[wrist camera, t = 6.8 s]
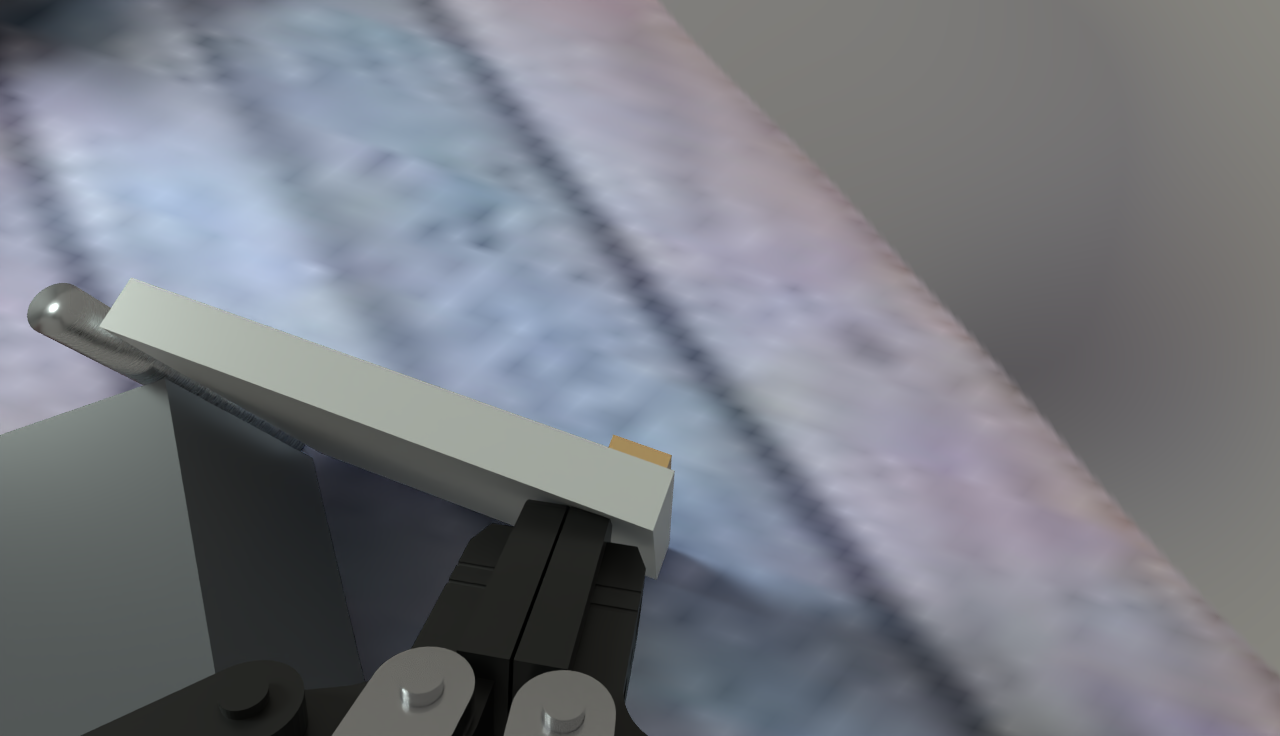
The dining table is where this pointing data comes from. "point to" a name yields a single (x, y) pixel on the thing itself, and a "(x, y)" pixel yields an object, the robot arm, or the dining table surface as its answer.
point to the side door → (402, 421)
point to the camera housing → (154, 544)
